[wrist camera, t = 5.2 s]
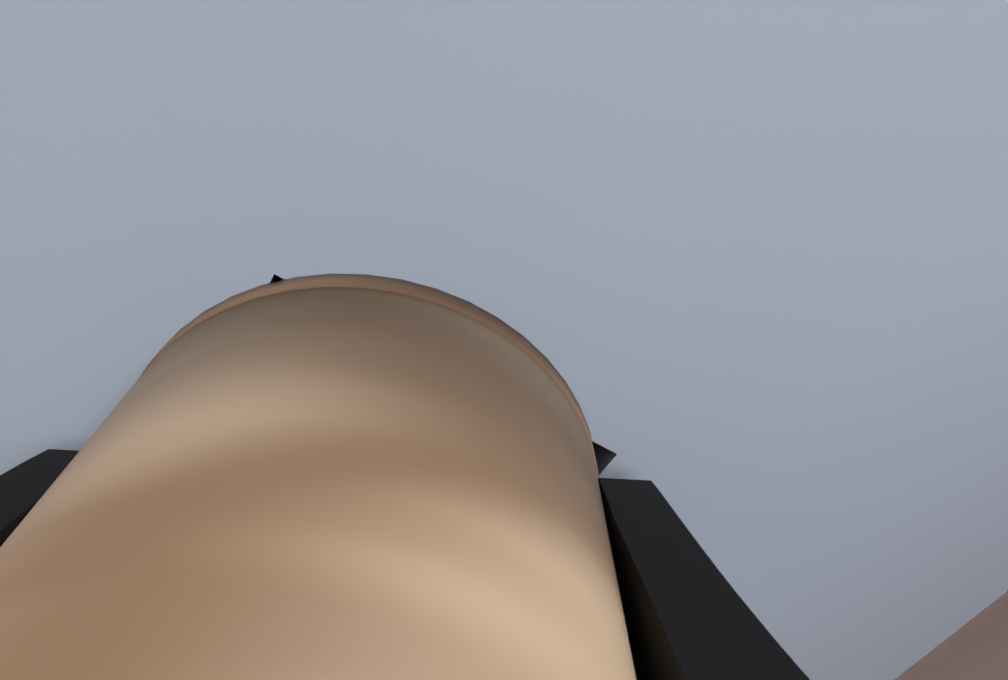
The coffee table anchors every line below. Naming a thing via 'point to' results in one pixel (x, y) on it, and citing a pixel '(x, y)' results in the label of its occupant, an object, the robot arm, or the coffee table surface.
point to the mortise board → (573, 247)
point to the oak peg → (325, 506)
